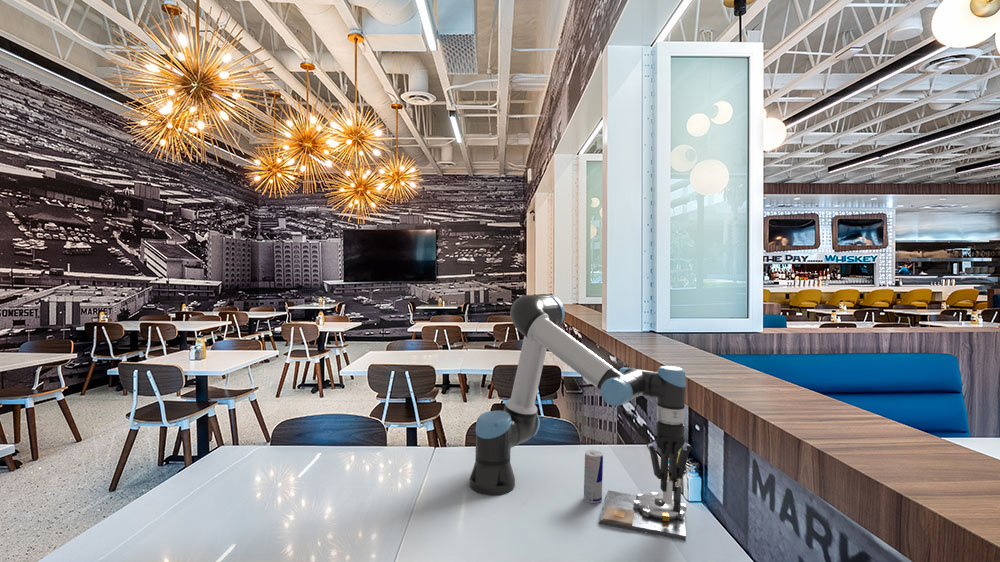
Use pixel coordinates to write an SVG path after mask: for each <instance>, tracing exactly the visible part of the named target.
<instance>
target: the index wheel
mask: <svg viewBox="0 0 1000 562" xmlns="http://www.w3.org/2000/svg"><path fill="white" fill-rule="evenodd" d="M635 495H636V500H637V501H636V500H634V508H638V509H639V510H640V511H641V512H643V515H644V516H646V517H649V516H651V517H655V518H659V519H662V520H663V521H669V519H676V518H679V519H683V518H684V517H685V518H686V516H685V513H686V512H687V505H686V503H684V502H682V486H681V485H678V484H675V491H673V495H672V504H666V503H665V502H664V501H663V493H658V492H657V491H651V492H650V493H638V494H635ZM683 511H684V512H683Z"/></svg>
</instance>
